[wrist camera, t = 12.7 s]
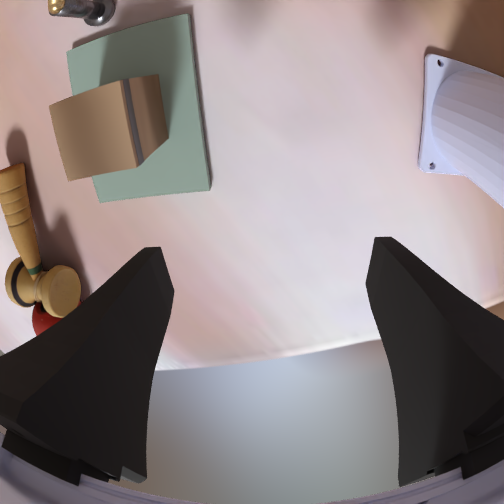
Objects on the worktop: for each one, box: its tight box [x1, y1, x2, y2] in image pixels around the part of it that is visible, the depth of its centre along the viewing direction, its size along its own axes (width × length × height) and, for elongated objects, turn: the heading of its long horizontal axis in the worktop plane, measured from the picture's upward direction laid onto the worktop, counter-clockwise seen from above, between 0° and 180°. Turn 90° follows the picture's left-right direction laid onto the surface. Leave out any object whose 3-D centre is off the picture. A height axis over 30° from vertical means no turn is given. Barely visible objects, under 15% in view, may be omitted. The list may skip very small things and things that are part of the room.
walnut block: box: [49, 74, 169, 181], centre depth 13 cm, size 4×4×5 cm
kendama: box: [0, 163, 81, 336], centre depth 20 cm, size 8×6×18 cm
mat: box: [66, 14, 211, 203], centre depth 15 cm, size 8×11×1 cm
